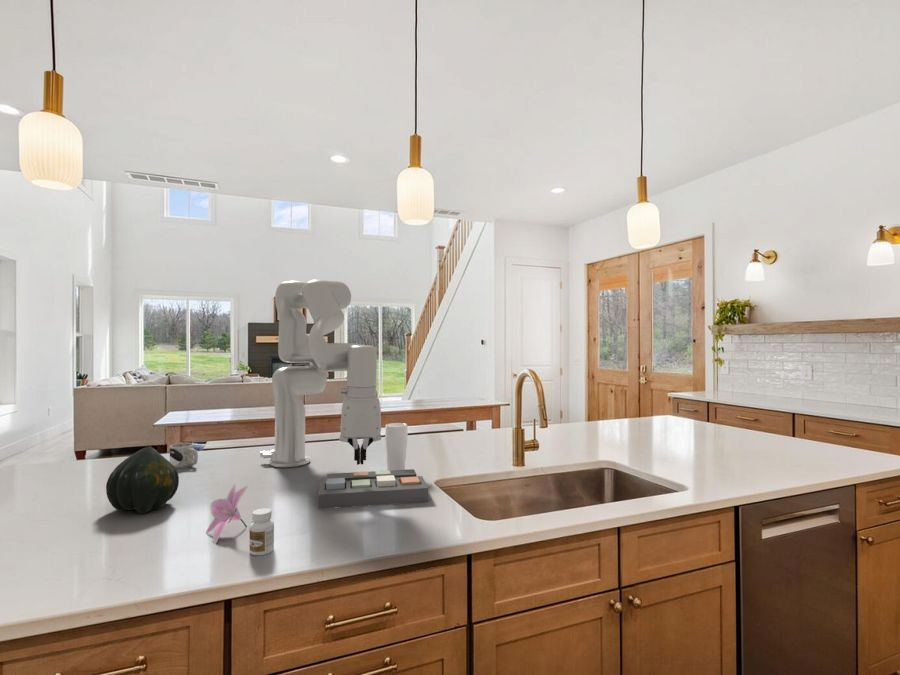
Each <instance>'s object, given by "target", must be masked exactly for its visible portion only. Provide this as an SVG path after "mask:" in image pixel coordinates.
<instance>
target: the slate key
mask: <svg viewBox="0 0 900 675" xmlns="http://www.w3.org/2000/svg"><path fill="white" fill-rule="evenodd" d="M325 481H326V490H332V489H345V478H332V479H327V478H326V480H325Z"/></svg>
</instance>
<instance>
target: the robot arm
mask: <svg viewBox="0 0 900 675" xmlns="http://www.w3.org/2000/svg"><path fill="white" fill-rule="evenodd" d="M351 293H352V292H351V289H350V287H349V286H348V285H347V284H346V283H345V282H342V281H337V280H325V279H312V280H309V281H302V280H300V281H299V280H289V281H283V282H281V283H279V284H278V286H277V287H276V290H275V295H274V300H275V301H274V302H275V307H276V312H277V315H278V339H277V340H278V341H277V344H278V346H277V348H278V349H277V351H278V358H279V360H280V361H281V362H284V363H288V364H289V363H293V364H295V363H296V364H298V363H309V365H307V366H306V365H305V366H298V365H297V366H285V367H284V366H283V367H280V368H278V369H276V370H275V371H274V372H273V374H272V377H271V383H272V384H271V385H272V391H273V396H274V398H273V399H274V448H273V449H271V450H270V451H269V450H263V451H260V454H259V455H260V458H263V459H269V465H270V467H275V468H296V467H300V466H304V465H307V464H309V463H310V461H311V458H310V456H308V455H306V407H305V405H304V403H303V402H302V401H301V399H300V398H299V396H305V395H307V396H308V395H315V394H320V393H322V392H323V391H324V390H325V389H326V387H327V380H328V379H327V378H328V372H329V373H330V372H331V373H332V372H346V386H345V387H342V388H340V392H341V393H340V394H344V395H345V397H343V401H342V406H341V413H340V414H341V415H340V435H339V438H338V439H339V441H340V442H343V443H348V444H349V445H350V446H351V447H352V448H353V450H354V452H353V454H354V455H353V456H354V457H353V458H354V459H353V461H356V465H357V466H358V465H364V461H367V448H368V447H370V445H371V444H372V443H374V442H378V441H381V440H382V434H381V431H382V417H381V415H382V414H381V412H382V411H381V402H380V398H379V397H377V371H378V368H377V364H378V362H377V360H378V351H377V348H376V346H374V345H368V344H367V345H366V344H361V343H358V342H357V343H356V342H354V343H353V342H348V343H347V342H330V343H329V342H327V341H326V339H325V337H324V336H325V335H328V334H330V333H332V332H334V331H336V330H337V329H339V328H340V327H341V326H342V325H343V323H344V321H345V314H344V311H343V310H345V309H347V308H348V307H349V306H350V304H351V301H352V294H351ZM301 309H307V310H308V311H309V314H310V316H311V319H312V320H313V322H314V324H313V325H312V327H311V328H310V330H309V333H307V319H306V317H305V315H304V313H303V311H302V310H301ZM358 439H363V440H362V443H361V446H360V444H359V441H358Z"/></svg>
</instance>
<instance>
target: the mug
mask: <svg viewBox="0 0 900 675" xmlns="http://www.w3.org/2000/svg"><path fill="white" fill-rule="evenodd" d="M194 444H195V443H193V442H180V443H174V444H171V445H169V462H170V463H171V464H172V465H173V466H174V467H175V468H176V470H178V469H185V468H191V467H192V466H195V465H197V464H198V459H199V454H198V450H197V449H195V448H194Z"/></svg>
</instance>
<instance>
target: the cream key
mask: <svg viewBox="0 0 900 675" xmlns="http://www.w3.org/2000/svg"><path fill="white" fill-rule="evenodd" d="M376 486H377V487H383V486H396V480H395V477H394V475H387V476H376Z"/></svg>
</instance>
